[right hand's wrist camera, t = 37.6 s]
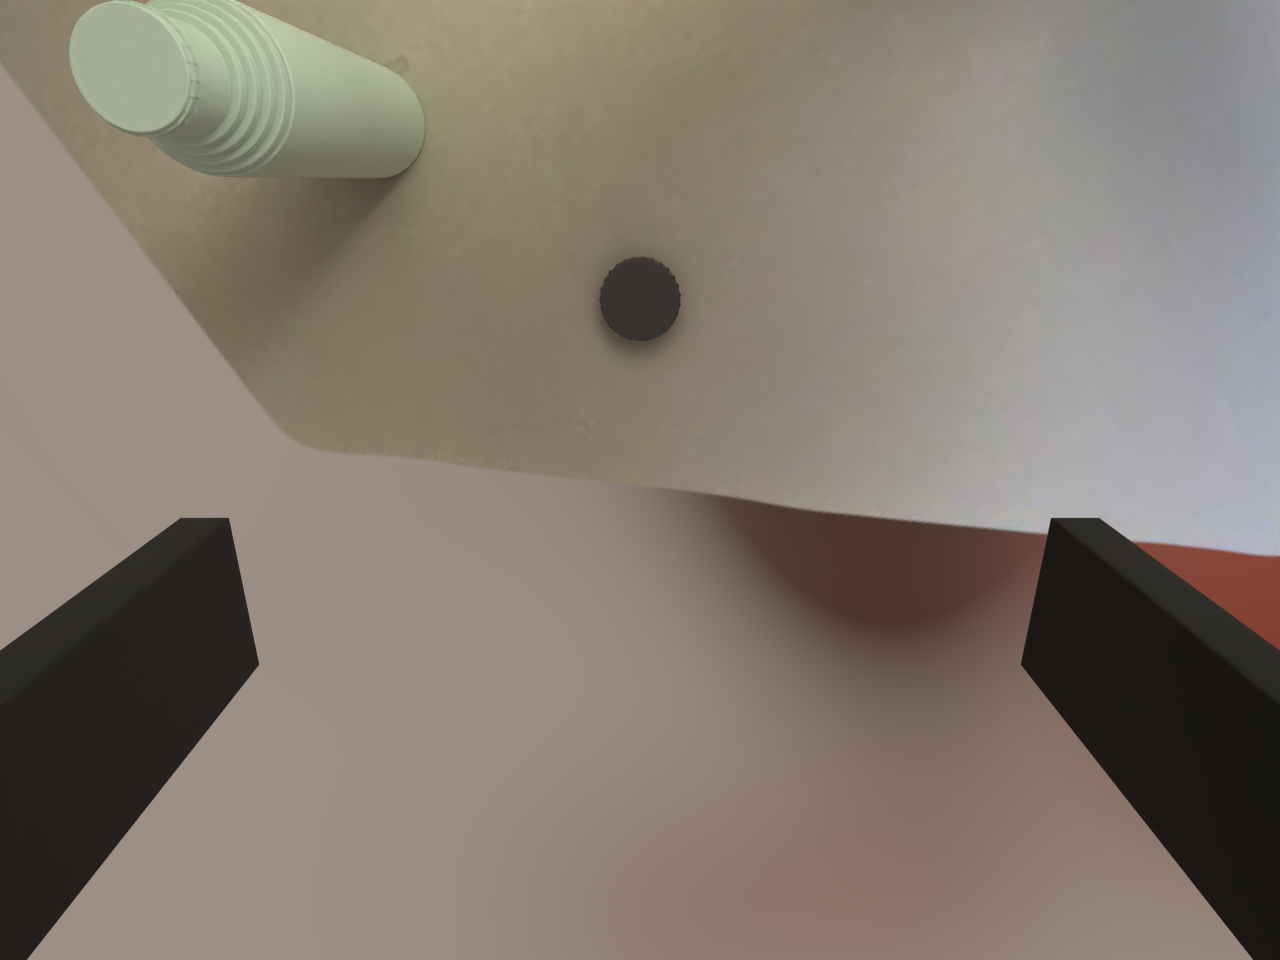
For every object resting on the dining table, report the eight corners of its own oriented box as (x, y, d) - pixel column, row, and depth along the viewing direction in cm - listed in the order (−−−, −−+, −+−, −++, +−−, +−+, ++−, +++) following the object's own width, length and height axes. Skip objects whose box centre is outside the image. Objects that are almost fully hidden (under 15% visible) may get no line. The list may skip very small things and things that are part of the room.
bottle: (342, 189, 43) (85, 197, 23) (303, 79, 41) (-15, -17, 21) (439, 163, 43) (262, 148, 23) (404, 50, 41) (176, -75, 21)
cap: (665, 244, 44) (666, 246, 43) (690, 321, 46) (691, 326, 44) (589, 272, 45) (587, 274, 43) (616, 347, 46) (615, 352, 45)
